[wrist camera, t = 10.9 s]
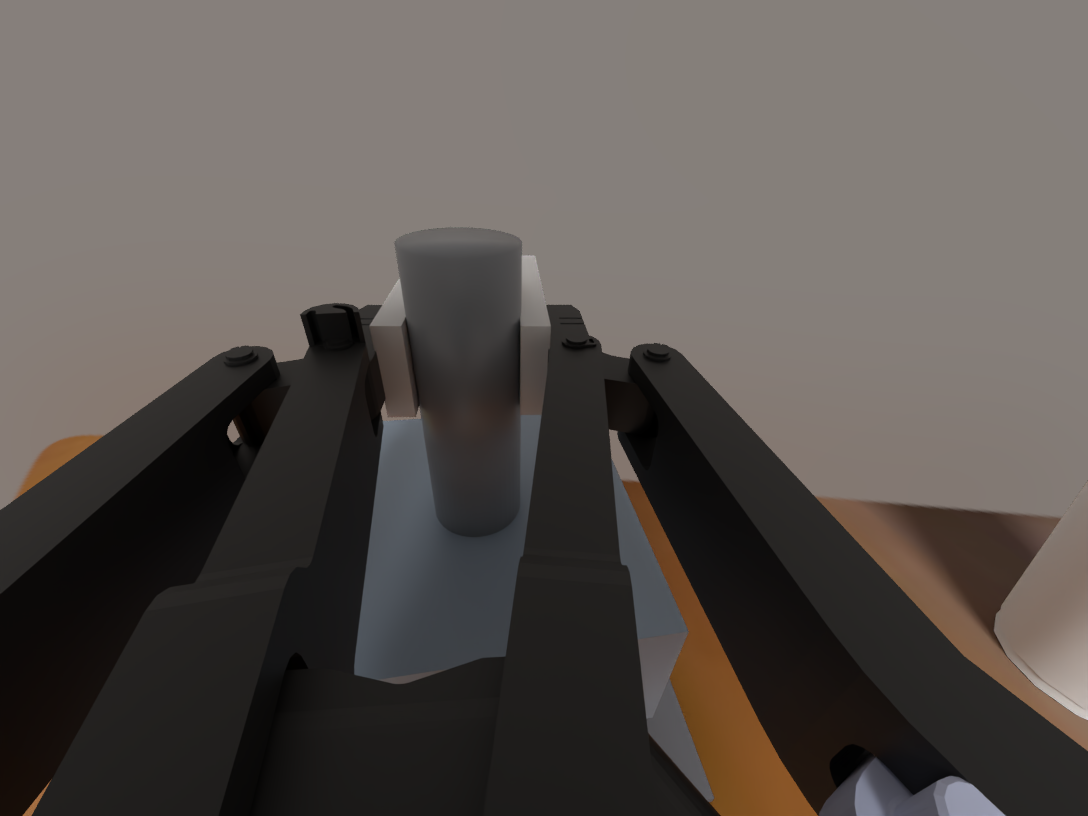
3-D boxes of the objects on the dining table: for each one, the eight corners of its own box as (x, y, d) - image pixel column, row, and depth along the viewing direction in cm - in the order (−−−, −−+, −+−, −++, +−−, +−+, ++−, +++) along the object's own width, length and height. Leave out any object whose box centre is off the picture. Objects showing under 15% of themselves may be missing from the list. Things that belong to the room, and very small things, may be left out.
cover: (579, 490, 24) (611, 203, 16) (652, 717, 15) (817, 325, 7) (371, 511, 22) (286, 200, 14) (314, 780, 13) (-14, 357, 5)
